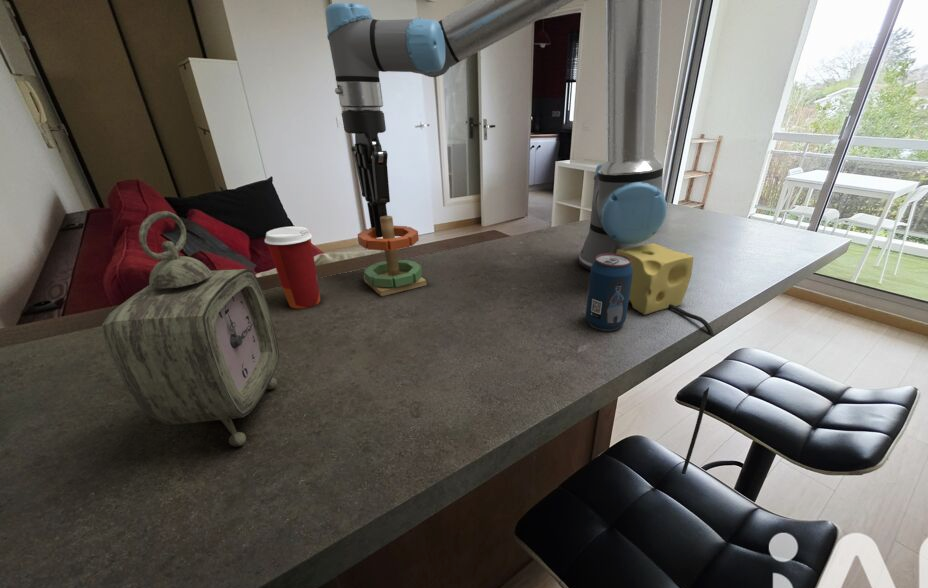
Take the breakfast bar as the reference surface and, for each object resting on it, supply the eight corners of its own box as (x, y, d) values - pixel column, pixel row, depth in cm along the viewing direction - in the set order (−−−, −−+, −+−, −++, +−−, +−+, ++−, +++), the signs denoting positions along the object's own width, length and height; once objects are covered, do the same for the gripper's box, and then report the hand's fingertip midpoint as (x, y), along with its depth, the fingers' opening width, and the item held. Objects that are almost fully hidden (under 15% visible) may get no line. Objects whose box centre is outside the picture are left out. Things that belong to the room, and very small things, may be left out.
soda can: (599, 310, 78) (607, 249, 72) (632, 323, 74) (643, 259, 68) (577, 322, 74) (583, 258, 68) (610, 337, 69) (619, 269, 64)
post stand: (426, 285, 88) (420, 218, 81) (381, 296, 83) (370, 226, 76) (407, 271, 95) (399, 209, 88) (364, 281, 90) (352, 215, 83)
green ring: (429, 279, 87) (429, 271, 86) (378, 291, 81) (376, 283, 81) (407, 264, 95) (406, 256, 94) (359, 274, 89) (357, 266, 88)
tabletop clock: (250, 456, 46) (160, 232, 34) (159, 466, 44) (31, 237, 32) (290, 379, 58) (234, 196, 46) (220, 385, 57) (144, 199, 45)
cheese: (644, 316, 76) (653, 264, 71) (607, 294, 84) (613, 247, 80) (685, 305, 80) (696, 256, 76) (645, 286, 89) (653, 240, 84)
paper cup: (333, 295, 83) (318, 226, 77) (313, 312, 77) (295, 238, 70) (296, 293, 84) (278, 224, 77) (273, 310, 77) (251, 236, 71)
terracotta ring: (426, 243, 84) (425, 235, 83) (372, 254, 78) (371, 244, 77) (403, 231, 91) (402, 223, 91) (352, 239, 85) (351, 230, 85)
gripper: (329, 108, 80) (351, 229, 91) (355, 110, 69) (376, 246, 81) (368, 108, 84) (384, 224, 95) (397, 109, 73) (412, 239, 84)
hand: (381, 234), depth 88 cm, fingers closed on terracotta ring, 2 cm apart
